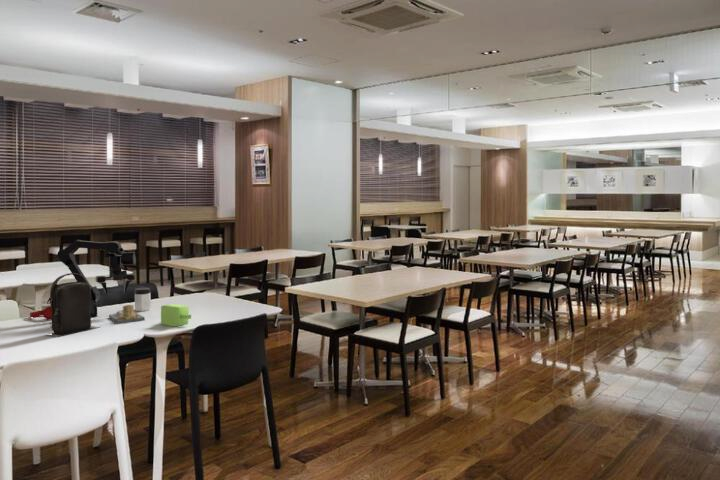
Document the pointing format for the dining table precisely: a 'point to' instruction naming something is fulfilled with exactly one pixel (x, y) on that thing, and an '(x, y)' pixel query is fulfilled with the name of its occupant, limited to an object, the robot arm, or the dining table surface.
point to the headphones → (42, 313)
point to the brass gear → (128, 312)
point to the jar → (142, 299)
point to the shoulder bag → (71, 307)
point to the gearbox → (174, 315)
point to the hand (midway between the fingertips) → (115, 293)
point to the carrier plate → (116, 318)
